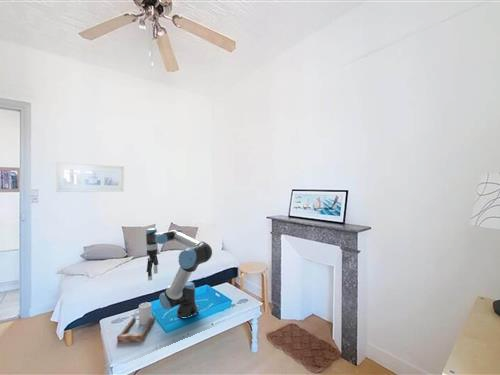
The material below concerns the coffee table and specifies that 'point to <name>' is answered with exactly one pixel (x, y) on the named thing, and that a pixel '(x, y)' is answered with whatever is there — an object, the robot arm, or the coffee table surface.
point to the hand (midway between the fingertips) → (153, 276)
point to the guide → (134, 337)
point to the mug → (144, 313)
